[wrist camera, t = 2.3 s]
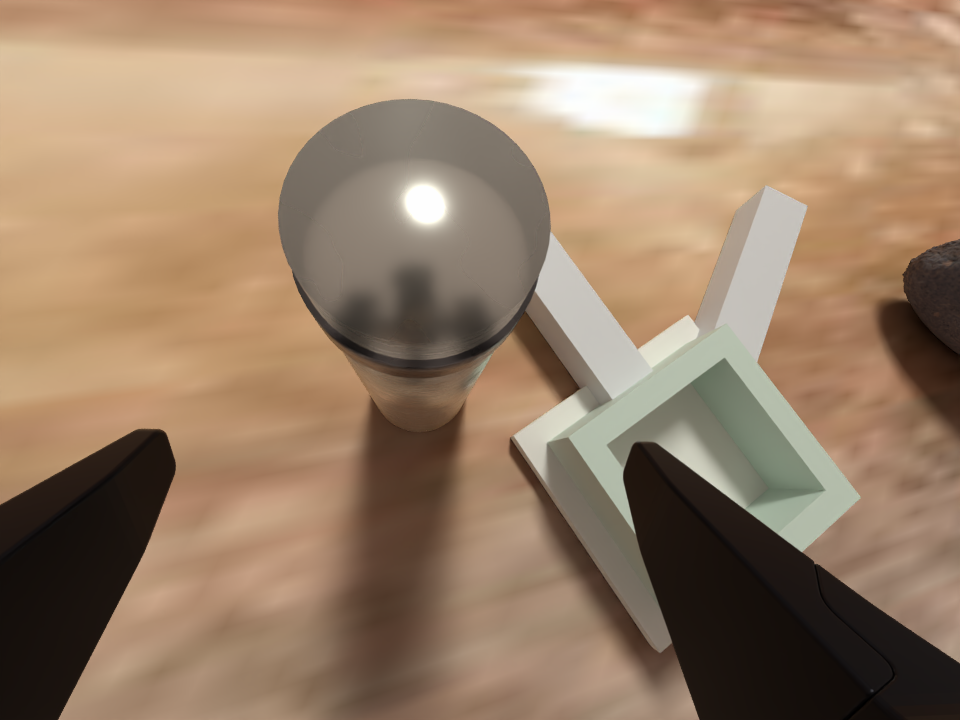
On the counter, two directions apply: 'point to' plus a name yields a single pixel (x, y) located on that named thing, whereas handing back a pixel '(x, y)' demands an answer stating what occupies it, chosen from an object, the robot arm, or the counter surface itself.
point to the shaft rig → (679, 406)
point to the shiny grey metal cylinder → (414, 248)
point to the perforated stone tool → (937, 291)
